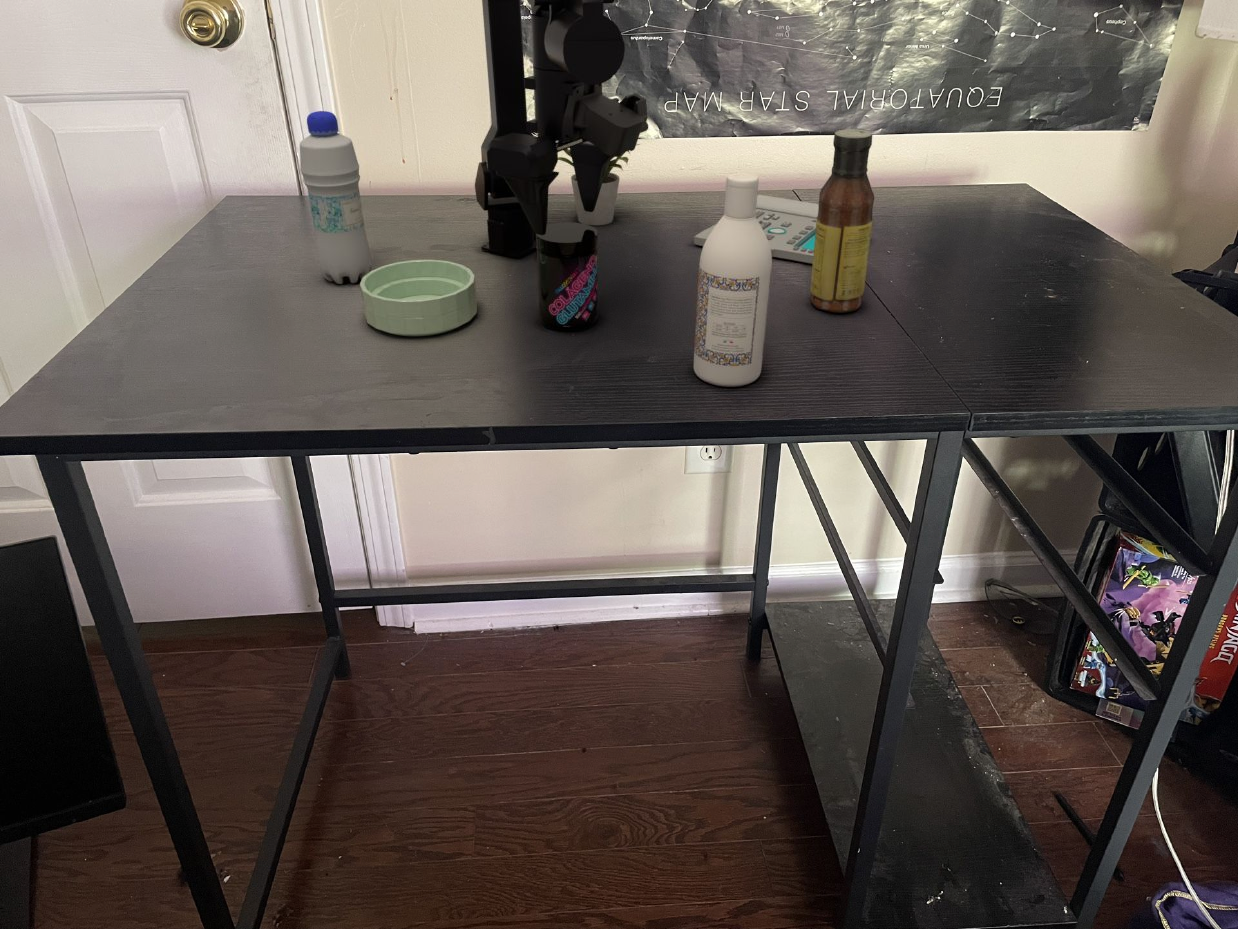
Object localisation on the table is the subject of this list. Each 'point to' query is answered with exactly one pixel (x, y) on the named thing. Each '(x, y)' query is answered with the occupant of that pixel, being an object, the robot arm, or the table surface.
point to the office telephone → (783, 227)
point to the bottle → (334, 199)
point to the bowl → (419, 297)
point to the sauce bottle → (843, 226)
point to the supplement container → (568, 276)
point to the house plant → (606, 196)
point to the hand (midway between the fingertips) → (565, 222)
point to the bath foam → (733, 291)
